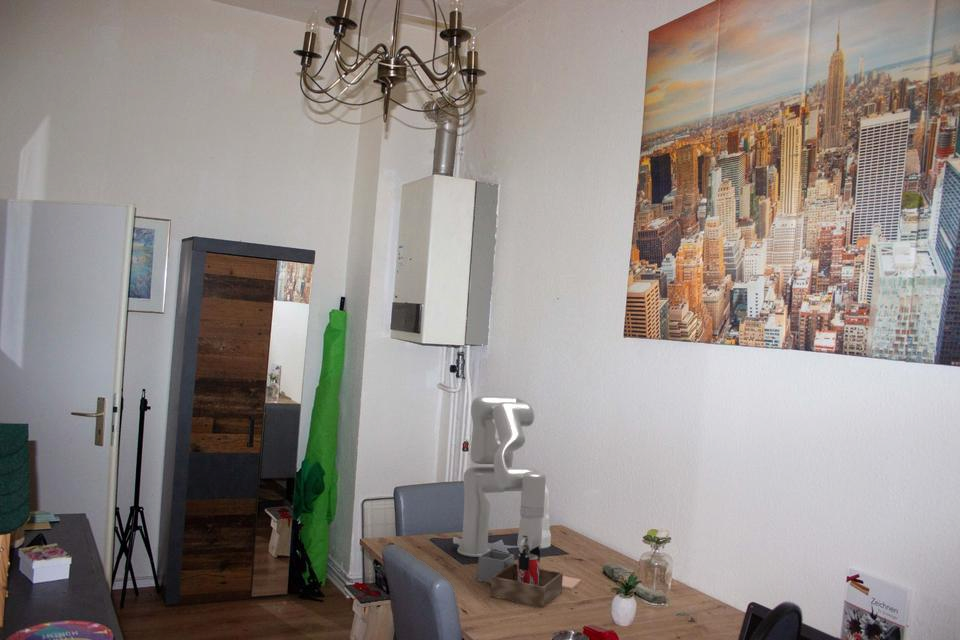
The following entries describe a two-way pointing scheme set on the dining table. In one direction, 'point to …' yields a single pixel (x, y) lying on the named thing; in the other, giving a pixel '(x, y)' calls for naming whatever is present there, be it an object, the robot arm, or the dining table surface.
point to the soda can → (530, 571)
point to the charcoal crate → (493, 564)
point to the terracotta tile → (570, 582)
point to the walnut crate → (527, 586)
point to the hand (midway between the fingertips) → (529, 565)
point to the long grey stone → (644, 592)
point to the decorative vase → (546, 522)
